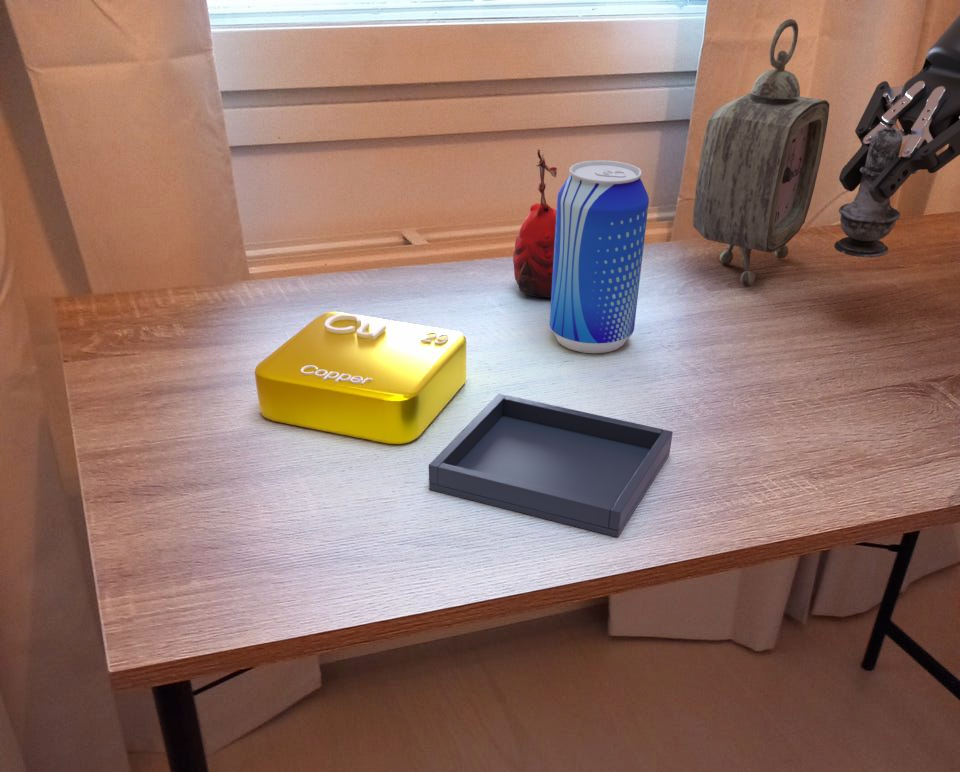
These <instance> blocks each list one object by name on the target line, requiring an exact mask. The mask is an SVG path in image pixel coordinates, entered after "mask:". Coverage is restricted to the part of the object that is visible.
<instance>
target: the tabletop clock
mask: <svg viewBox="0 0 960 772" xmlns="http://www.w3.org/2000/svg"><path fill="white" fill-rule="evenodd" d="M790 27H791V29H792V34H793V35H792V43H791V45H790V49H788V52H787V51H785V50H779V51H778V53H777V54H776V58H775V51H776V47H777V44H778V41H779V39H780V37H781V35H782V34H783V33H784V31H785V30H786V29H787V28H790ZM798 37H799V24H798V22H797V21H796V20H795V19H793V18H788V19H785V20H784V21H783V22H781V23H780V24H779V25H778V27H777V29H776V30H775V33H774V35H773V38H772V40H771V44H770V49H769V63H770V65H771V67H773V69H769V70H766V71H764V72H763V73H761V74H760V75H759V76H758V77H757V79H756V80H755V81H754V83H753V85H752V88H751V90H750V93H746V94H745V95H742V96H739V97H738V98H735V99H733V100H731V101H729V102H727V103H726V104H724V105H723V106H721V107H719V108H718V109H716V110H715V111H714V112H713V113H712V114H711V115H710V117H709V119H708V120H707V124H706V128H705V131H704V134H703V135H704V136H703V140H702V144H701V145H702V146H701V151H700V156H699V157H700V158H699V164H698V170H697V176H696V185H695V192H694V201H693V202H694V203H693V211H692V212H693V213H692V227H693V228H694V229H695V230H696V231H697V232H698V234H700V235H701V237H702V238H703V239H705V240H708V241H712V242H717V243H721V244H726V245H728V246H727V249H724V250H723V251H721V253H720V254H719V257H718V259H719V262H720V263H721V264H722V265H724V264H727V265H729V264H731V263H732V262H733V260H734V253H733V249H734V248H735V247H738V248H739V250H740V252H741V254H742V261H743V267H744V268H743V269H744V271H743V272H742V273H741V275H740V280H739V281H740V283H741V284H742V285H743V286H745V287H750V286H752V285H753V284H754V282H755V280H756V275H755V273H754V271H751V253H752V250H753V251H757V252H758V251H759V252H764V253H769V254H773V253H774V256H775V257H776V258H777V259H779V260H783V259H785V258H786V257H788V254H789V247H788V246H787V244H788V243H789V242H790V241H791V240H792V239H793V238H794V237H795V236H796V235H797V234H798V233H799V231H800V230H801V229H802V227H803V226H804V224H805V222H806V219H807V216H808V212H809V209H810V206H811V202H812V199H813V195H814V191H815V186H816V181H817V178H818V175H819V174H818V173H819V170H820V165H821V159H822V154H823V150H824V145H825V139H826V138H825V137H826V132H827V128H828V121H829V114H830V113H829V112H830V103H829V102H828V100H825V99H821V98H814V97H813V98H812V97H805V96H801V89H800V88H801V87H800V83H799V80H798V78H797V77H796V75H795V73H793V72H791V71H789V70H786V65H787V64H788V63H789V62H790V60H791V59H792V58H793V55H794V53H795V49H796V47H797V43H798V39H799V38H798Z"/></svg>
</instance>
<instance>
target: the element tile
mask: <svg viewBox="0 0 960 772" xmlns="http://www.w3.org/2000/svg"><path fill="white" fill-rule="evenodd" d="M254 378H255V385H256V386H255V387H256V394H257V401H258V408H259V412H260V414H261V415H262V417H264V418H265V419H267V420H270V421H272V422H276V423H281V424H286V425H291V426H296V427H302V428H306V429H312V430H317V431H321V432H325V433H326V432H327V433H332V434H337V435H341V436H346V437H353V438H357V439H362V440H367V441H373V442H378V443H382V444H386V445H387V444H389V445H403V444H408V443H410V442H413V441H415V440H416V439H418V438H419V437H420V436H421V435H422V434H423V432H424V431H426V429H427V428H428V427H429V425H430V424H431V423H432V422H433V421H434V419H435V418H437V416H438V415H439V414H440V412H442V410H443V409H444V408H445V407H446V406H447V404H448V403H449V402H451V400H452V399H453V397H454V396H456V394H457V393H458V392H459V390H460V389H461V388H462V387H463V386H464V385H465V383H466V381H467V338H466V336H465V335H464V334H463V333H462V332H460V331H456V330H450V329H446V328H445V329H444V328H439V327H432V326H425V325H421V324H414V323H409V322H402V321H394V320H388V319H383V318H379V317H372V316H365V315H359V314H352V313H346V312H340V311H328V312H325V313H323V314H321V315H319V316H317V317H315V318H314V319H312V321H310V323H308V324H307V325H305V326H304V327H303V328H301V329H300V330H299V331H298V332H297V333H295V334H294V335H293V336H292V337H291V338H289V339H288V340H287V341H286V342H284V343H283V344H282V345H280V346H279V347H278V348H276V350H274V351H273V352H272V353H270V355H269V354H268V356H267V357H265V358H264V359H263V360H262V361H261V362H259V363H258V364H257V365H256V366H255V369H254Z"/></svg>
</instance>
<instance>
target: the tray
mask: <svg viewBox="0 0 960 772" xmlns="http://www.w3.org/2000/svg"><path fill="white" fill-rule="evenodd" d="M673 434H674V431H672V430H668V429H663V428H660V427H655V426H650V425H645V424H641V423H636V422H632V421H627V420H622V419H617V418H613V417H608V416H604V415H600V414H594V413H590V412H585V411H581V410H577V409H572V408H567V407H563V406H557V405H553V404H549V403H545V402H540V401H535V400H531V399H526V398H521V397H517V396H512V395H509V394H508V395H507V394H504V393H503V394H502V393H497V395H496V396H495V397H494V398H493V399H492V400H490V401H489V403H487V405H486V406H484V408H483V409H482V410H481V411H480V412H479V413H478V414H477V415H476V416H475V417H474V418H473V419H472V420H471V421H470V422H469V423H468V424H467V425H466V426H465V427H464V428H463V429H462V430H461V431H460V433H458V434H457V435H456V436H455V438H453V439H452V440H451V442H449V444H448V445H446V447H445V448H444V449H443V450H442V451H441V452H440V453H438V455H437V456H436V457H435V458H433V460H432V461H431V462H430V463H429V464H428V489H429V490H431V491H435V492H439V493H443V494H446V495H450V496H455V497H459V498H463V499H466V500H470V501H474V502H477V503H481V504H486V505H489V506H493V507H497V508H500V509H506V510H509V511H512V512H517V513H521V514H524V515H529V516H533V517H535V518H539V519H540V518H541V519H545V520H548V521H552V522H555V523H561V524H564V525H568V526H571V527H576V528H579V529H584V530H588V531H591V532H595V533H599V534H603V535H607V536H612V537H615V538H619V537H620V534H621V533H622V531H623V530H624V528H625V527H626V525H627V523H628V521H630V519H631V517H632V515H633V514H634V512H635V511H636V509H637V507H638V506H639V504H640V502H641V501H642V500H643V498H644V496H645V495H646V493H647V491H648V489H649V488H650V487H651V485H652V484H653V482H654V480H655V479H656V477H657V475H658V473H660V470H661V469H662V467H663V465H664V464H665V463H666V462H667V459H668V457H669V456H670V454H671V453H670V452H671V447H672V440H673Z"/></svg>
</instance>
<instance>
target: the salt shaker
mask: <svg viewBox="0 0 960 772" xmlns="http://www.w3.org/2000/svg"><path fill="white" fill-rule="evenodd" d="M893 122H894V121H893V119H892V118H891V119H890V120H889V121H888V122H887V124H888V126H887V127H885V128H884V129H881V130H879V131H877V132H875V133H874V134H873V136H872V138H871V142H870V146H869V150H868V155H867V159H866V164H865V166H863V167H861V168H860V172H861V173H862V178H861V182H860V184H859V185H858V186H859V187H858V191H857V194H856V195H855V198H854V199H853V201H852V202H849V203H844V204H843V205H841V206H840V207H839V208H838V213H839V214H840V217H839V218H840V219H839V220H840V227H841V230H842V231H843V233H844V234H845V236H846V237H842V238H841V239H839V240H836V241H835V243H834V245H833V247H834V249H835V250H836V251H838V252H840V253H841V254H844V255H848V256H852V257H857V258H878V257H879V258H880V257H883V256H886V255H887V254H888V253H889V247H888V246H887V245H886V244H885V243H884V241H881V240H883V239H884V238H885V237H887V236H888V235H889V234H890V233H891V231H892V230H893V228H894V227H895V225H896V222H897V221H898V220H899V219H901V212H900V211H899V210H898V209H897V208H894V207H893V206H892V205H891V197H890V198H888V199H886V200H885V201H884V202H883V203H878V202H876V201H874V200H873V198H872V196H871V194H870V193H869V187H870V185H871V184H872V182H873V181H874V180H875V179H876V178H877V177H878V176H879V174H880V173H881V172H882V171H883V170H884V169H885V167H886V166H887V165H888V164H889V163H890V162H891V161H892V159H893V158H894V157H895V156H897V157H900V154H901V150H902V149H901V148H902V145H903V144H902V135H901V134H900V133H899V132H898V131H897V130H895V129H894V128H892V125H893V124H894V123H893Z"/></svg>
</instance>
